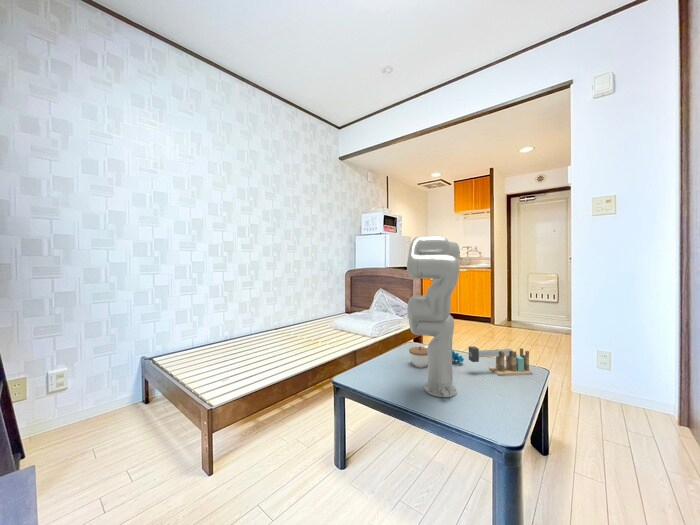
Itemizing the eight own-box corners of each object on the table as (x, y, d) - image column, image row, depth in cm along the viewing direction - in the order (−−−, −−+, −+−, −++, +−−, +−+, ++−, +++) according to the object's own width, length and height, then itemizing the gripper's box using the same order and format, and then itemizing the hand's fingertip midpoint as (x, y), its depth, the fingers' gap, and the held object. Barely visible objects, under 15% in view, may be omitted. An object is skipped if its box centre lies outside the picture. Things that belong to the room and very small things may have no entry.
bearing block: (532, 374, 131) (532, 352, 131) (499, 375, 130) (498, 353, 130) (520, 367, 139) (520, 347, 139) (489, 369, 138) (488, 348, 138)
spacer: (524, 371, 132) (524, 358, 132) (518, 371, 132) (518, 358, 132) (517, 366, 138) (517, 354, 137) (512, 366, 138) (512, 354, 138)
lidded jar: (408, 368, 141) (408, 349, 140) (410, 360, 151) (410, 342, 151) (430, 370, 137) (430, 350, 137) (431, 362, 148) (431, 344, 148)
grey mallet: (514, 360, 133) (513, 347, 132) (472, 362, 131) (472, 349, 131) (509, 357, 136) (509, 345, 136) (468, 359, 134) (468, 346, 134)
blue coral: (468, 361, 144) (456, 349, 141) (463, 371, 142) (451, 359, 139) (451, 357, 154) (440, 346, 151) (446, 367, 151) (435, 356, 149)
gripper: (454, 271, 132) (455, 308, 132) (440, 270, 149) (440, 303, 149) (439, 272, 131) (439, 309, 132) (426, 270, 149) (426, 303, 149)
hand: (439, 305), depth 141 cm, fingers open, 9 cm apart
